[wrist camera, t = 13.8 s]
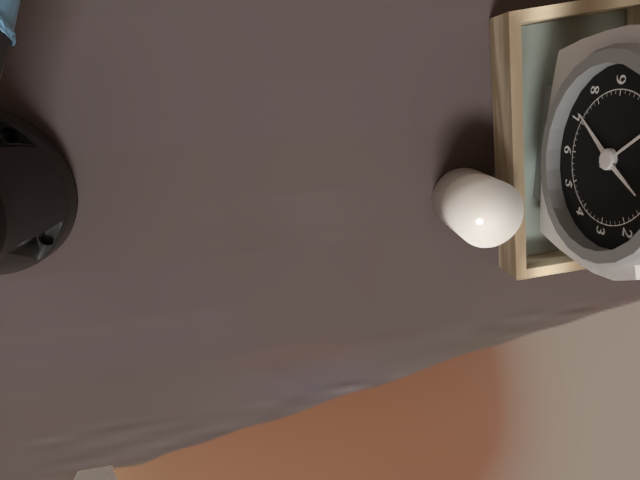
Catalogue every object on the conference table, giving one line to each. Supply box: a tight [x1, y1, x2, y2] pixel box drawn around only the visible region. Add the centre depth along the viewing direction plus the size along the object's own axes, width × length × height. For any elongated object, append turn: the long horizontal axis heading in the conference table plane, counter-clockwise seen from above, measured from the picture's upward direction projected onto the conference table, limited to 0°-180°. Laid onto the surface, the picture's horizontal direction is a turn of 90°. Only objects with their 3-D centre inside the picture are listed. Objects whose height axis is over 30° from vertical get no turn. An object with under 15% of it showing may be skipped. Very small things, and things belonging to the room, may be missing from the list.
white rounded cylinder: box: [432, 168, 524, 248], centre depth 44 cm, size 6×6×7 cm
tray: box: [489, 0, 640, 280], centre depth 44 cm, size 13×24×4 cm, turn 9°
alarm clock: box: [533, 25, 640, 281], centre depth 36 cm, size 18×8×20 cm, turn 2°
